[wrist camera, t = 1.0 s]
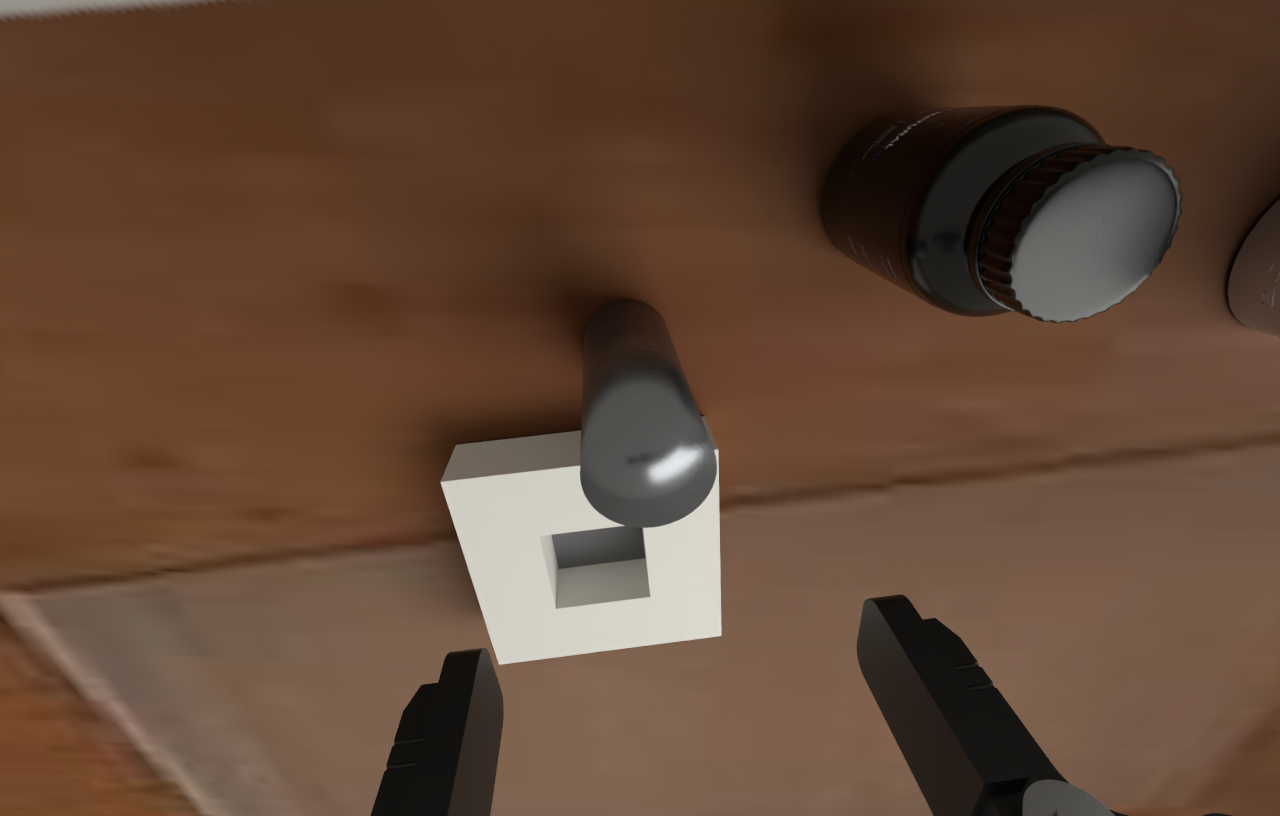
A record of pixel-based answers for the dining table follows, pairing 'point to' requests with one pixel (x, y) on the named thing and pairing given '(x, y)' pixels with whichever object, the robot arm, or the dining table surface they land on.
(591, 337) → the graphite peg
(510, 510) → the socket block
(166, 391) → the dining table surface
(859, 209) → the supplement bottle
